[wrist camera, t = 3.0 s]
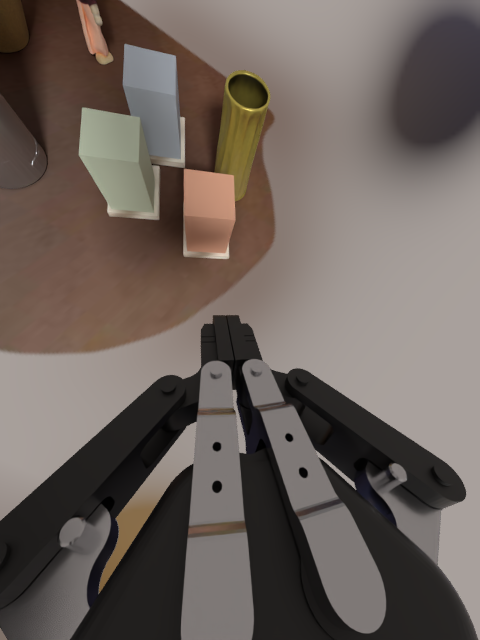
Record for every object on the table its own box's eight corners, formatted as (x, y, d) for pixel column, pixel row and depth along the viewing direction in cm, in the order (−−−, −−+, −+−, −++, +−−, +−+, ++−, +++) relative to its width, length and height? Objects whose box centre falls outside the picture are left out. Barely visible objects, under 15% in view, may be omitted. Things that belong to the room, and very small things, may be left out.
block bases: (108, 252, 32) (105, 249, 31) (115, 111, 35) (113, 104, 34) (228, 259, 35) (229, 256, 34) (224, 130, 39) (224, 124, 38)
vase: (227, 164, 38) (245, 57, 24) (252, 188, 38) (284, 96, 24) (204, 184, 36) (209, 82, 23) (230, 208, 37) (251, 123, 23)
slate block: (141, 153, 34) (122, 85, 25) (142, 121, 35) (124, 43, 26) (180, 159, 35) (175, 95, 26) (180, 127, 36) (175, 55, 27)
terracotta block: (187, 251, 33) (184, 215, 24) (187, 215, 34) (183, 168, 25) (225, 253, 34) (235, 219, 25) (224, 219, 35) (233, 175, 26)
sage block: (111, 209, 32) (78, 154, 23) (113, 173, 32) (82, 107, 24) (154, 212, 33) (138, 162, 24) (154, 178, 34) (139, 117, 25)
